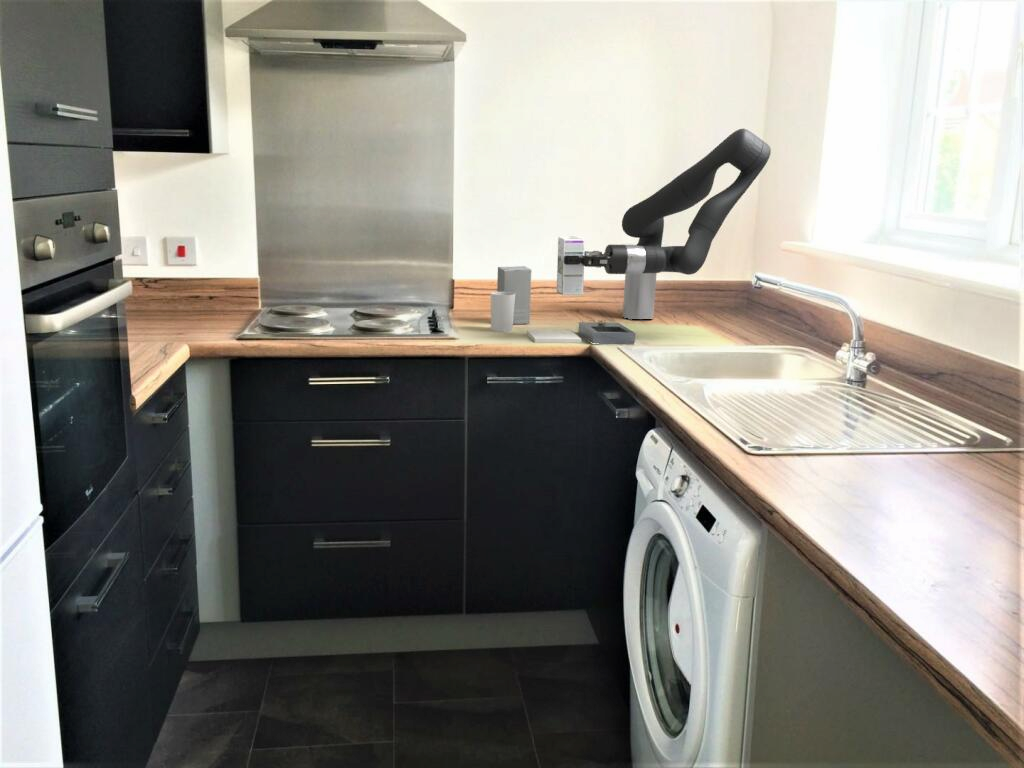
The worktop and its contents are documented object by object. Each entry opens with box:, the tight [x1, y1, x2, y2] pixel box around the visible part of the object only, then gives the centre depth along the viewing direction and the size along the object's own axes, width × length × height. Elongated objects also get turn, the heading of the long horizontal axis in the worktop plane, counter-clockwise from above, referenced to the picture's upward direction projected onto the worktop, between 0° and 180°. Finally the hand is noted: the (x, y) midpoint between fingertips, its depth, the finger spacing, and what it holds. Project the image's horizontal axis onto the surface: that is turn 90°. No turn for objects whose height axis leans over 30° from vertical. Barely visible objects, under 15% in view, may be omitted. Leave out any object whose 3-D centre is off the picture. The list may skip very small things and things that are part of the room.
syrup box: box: [556, 235, 586, 296], centre depth 239 cm, size 6×6×14 cm
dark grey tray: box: [577, 319, 636, 344], centre depth 245 cm, size 16×11×4 cm
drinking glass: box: [490, 291, 515, 333], centre depth 251 cm, size 7×7×10 cm
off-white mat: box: [526, 329, 582, 344], centre depth 243 cm, size 12×12×1 cm
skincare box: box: [496, 265, 533, 325], centre depth 263 cm, size 8×7×16 cm
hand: (561, 258), depth 238 cm, fingers closed on syrup box, 6 cm apart
